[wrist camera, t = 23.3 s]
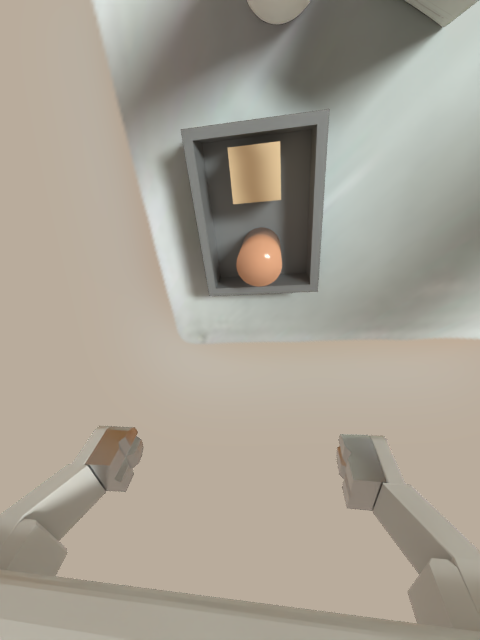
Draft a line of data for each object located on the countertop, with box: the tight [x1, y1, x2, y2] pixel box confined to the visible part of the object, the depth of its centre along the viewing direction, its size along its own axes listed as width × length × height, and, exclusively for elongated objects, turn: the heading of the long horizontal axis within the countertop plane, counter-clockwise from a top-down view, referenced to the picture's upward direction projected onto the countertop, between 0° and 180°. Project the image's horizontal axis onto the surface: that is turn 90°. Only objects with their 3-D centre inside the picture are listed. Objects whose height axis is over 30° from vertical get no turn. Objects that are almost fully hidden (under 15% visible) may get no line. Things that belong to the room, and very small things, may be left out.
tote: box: [181, 109, 329, 296], centre depth 31 cm, size 14×18×5 cm
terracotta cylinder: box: [236, 227, 282, 287], centre depth 31 cm, size 5×5×7 cm
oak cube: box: [228, 141, 281, 204], centre depth 28 cm, size 5×5×5 cm
